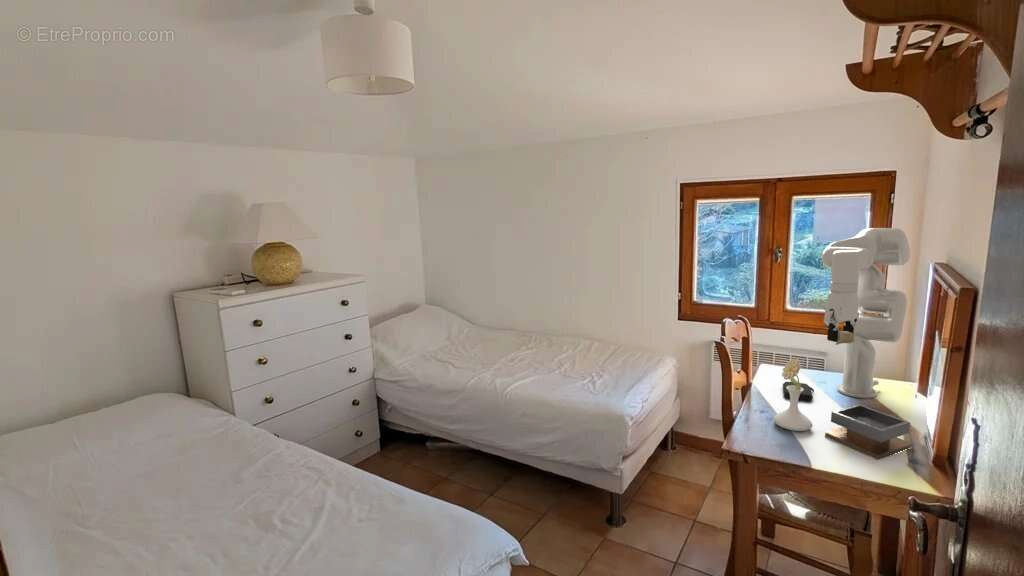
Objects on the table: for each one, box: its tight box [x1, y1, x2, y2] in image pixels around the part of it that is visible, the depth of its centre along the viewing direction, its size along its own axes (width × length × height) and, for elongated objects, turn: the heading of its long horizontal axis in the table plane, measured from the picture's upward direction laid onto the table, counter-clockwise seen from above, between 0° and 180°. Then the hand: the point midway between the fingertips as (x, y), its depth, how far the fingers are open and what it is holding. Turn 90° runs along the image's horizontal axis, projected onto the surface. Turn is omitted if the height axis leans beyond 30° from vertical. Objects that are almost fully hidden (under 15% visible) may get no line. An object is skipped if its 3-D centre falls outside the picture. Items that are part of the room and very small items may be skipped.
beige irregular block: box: [832, 319, 854, 346], centre depth 161 cm, size 9×6×10 cm
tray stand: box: [824, 404, 914, 461], centre depth 149 cm, size 16×16×8 cm
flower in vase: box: [773, 358, 814, 432], centre depth 159 cm, size 13×11×25 cm
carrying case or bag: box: [782, 381, 815, 402], centre depth 187 cm, size 11×3×15 cm
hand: (840, 338), depth 160 cm, fingers closed on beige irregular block, 6 cm apart
